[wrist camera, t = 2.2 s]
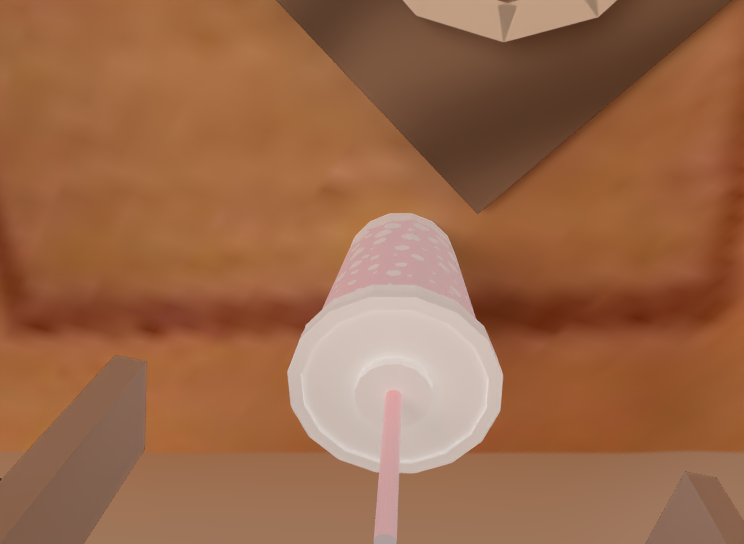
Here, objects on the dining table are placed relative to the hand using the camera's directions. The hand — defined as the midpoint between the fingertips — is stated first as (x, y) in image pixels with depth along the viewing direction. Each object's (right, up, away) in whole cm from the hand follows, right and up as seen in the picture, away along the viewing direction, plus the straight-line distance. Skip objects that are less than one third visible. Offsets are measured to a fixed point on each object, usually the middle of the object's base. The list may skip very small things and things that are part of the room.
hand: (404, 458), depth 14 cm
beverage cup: (+1, +5, +11) cm, 12 cm away
